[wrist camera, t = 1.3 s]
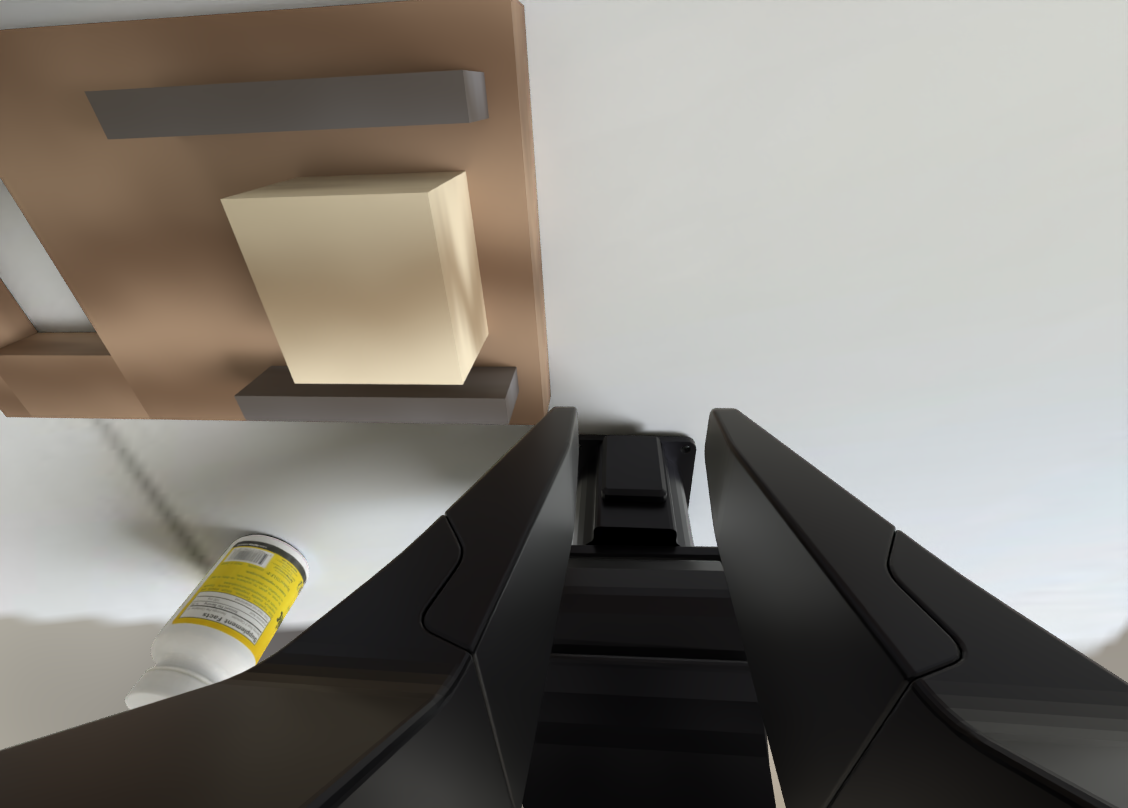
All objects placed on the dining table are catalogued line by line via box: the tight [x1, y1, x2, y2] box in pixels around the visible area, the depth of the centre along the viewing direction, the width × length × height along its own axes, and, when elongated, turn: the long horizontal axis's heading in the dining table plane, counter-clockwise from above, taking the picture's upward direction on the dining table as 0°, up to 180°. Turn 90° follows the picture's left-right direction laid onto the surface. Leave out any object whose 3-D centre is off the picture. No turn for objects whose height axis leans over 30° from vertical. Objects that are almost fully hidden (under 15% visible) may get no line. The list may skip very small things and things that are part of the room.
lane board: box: [0, 0, 551, 425], centre depth 19 cm, size 15×28×5 cm, turn 93°
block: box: [220, 171, 488, 385], centre depth 17 cm, size 6×6×4 cm
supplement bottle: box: [125, 535, 309, 709], centre depth 29 cm, size 5×5×10 cm
